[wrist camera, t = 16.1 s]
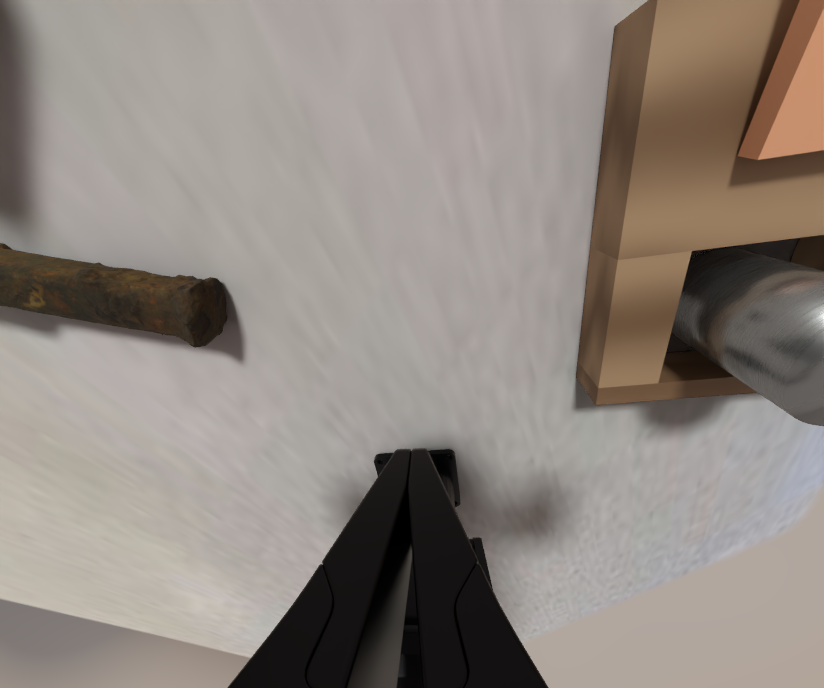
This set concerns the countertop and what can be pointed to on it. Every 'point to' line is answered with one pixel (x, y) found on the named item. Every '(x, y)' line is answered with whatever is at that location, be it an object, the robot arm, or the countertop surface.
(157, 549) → the countertop surface
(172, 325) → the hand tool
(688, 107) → the hole plate
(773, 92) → the pink flat plate
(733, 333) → the peg
